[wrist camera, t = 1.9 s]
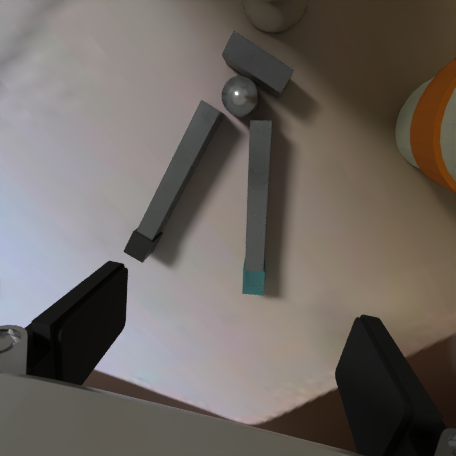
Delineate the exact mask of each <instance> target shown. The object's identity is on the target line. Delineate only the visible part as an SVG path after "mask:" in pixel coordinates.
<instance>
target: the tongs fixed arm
mask: <svg viewBox="0 0 456 456" xmlns="http://www.w3.org/2000/svg"><path fill="white" fill-rule="evenodd" d="M222 56H223V58H224V60H225V62H226V64H227V65H228V66H230V67H231V68H233V69H234V70H236V71H237V72H239V73H240V74H242V75H243V76H245V77H247V78H249V79H250V80H252V81H253V82H254V83H256V84H257V85H259V86H260V87H262V88H263V89H265V90H266V91H268V92H270V93H271V94H273V95H274V96H276V97H277V98H279V96H280V95H281V93H282V91H283V90H284V88H285V86H286V85H287V83H288V81H289V80H290V78H291V76H292V74H293V71H294V70H293V69H291V68H290V67H288V66H287V65H285V64H284V63H282V62H281V61H279V60H278V59H276V58H275V57H273V56H272V55H270V54H269V53H267V52H266V51H264V50H263V49H261V48H260V47H258V46H257V45H255V44H254V43H252V42H250V41H249V40H247V39H246V38H244V37H243V36H241V35H240V34H238V33H237V32H235V31H233V33H232V35H231V37H230V39H229V41H228V43H227V45H226V47H225V49H224V51H223V53H222ZM223 115H224V114H223V113H222V112H220V111H219V110H217V109H215V108H214V107H212V106H211V105H209V104H208V103H206V102H204V101H202V100H201V102H200V104H199V106H198V108H197V110H196V112H195V114H194V116H193V118H192V120H191V122H190V124H189V126H188V128H187V130H186V132H185V134H184V136H183V138H182V140H181V142H180V144H179V146H178V148H177V150H176V152H175V154H174V156H173V158H172V160H171V162H170V164H169V166H168V168H167V171H166V173H165V175H164V177H163V179H162V181H161V183H160V185H159V187H158V189H157V191H156V193H155V195H154V197H153V199H152V201H151V203H150V205H149V207H148V209H147V211H146V213H145V215H144V217H143V219H142V221H141V223H140V225H139V227H138V228H137V229H136V230H134V231H133V233H132V235H131V237H130V239H129V241H128V243H127V245H126V247H125V249H124V252H125V253H127V254H128V255H130V256H132V257H133V258H135V259H137V260H139V261H140V262H142V263H143V262H144V260H145V259H146V258H147V257H148V256H149V255H150V254H151V253H152V252H153V250H154V249H155V247H156V245H157V243H158V241H159V239H160V237H161V236H162V234H163V233H162V232H161V231H162V229H163V228H164V226H165V224H166V222H167V220H168V218H169V216H170V214H171V213H172V211H173V209H174V207H175V205H176V203H177V201H178V199H179V198H180V196H181V194H182V192H183V190H184V188H185V186H186V184H187V183H188V181H189V179H190V177H191V175H192V173H193V171H194V169H195V168H196V166H197V164H198V162H199V160H200V158H201V156H202V154H203V153H204V151H205V149H206V147H207V145H208V143H209V141H210V140H211V138H212V136H213V134H214V132H215V130H216V128H217V126H218V125H219V123H220V121H221V119H222V117H223Z"/></svg>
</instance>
